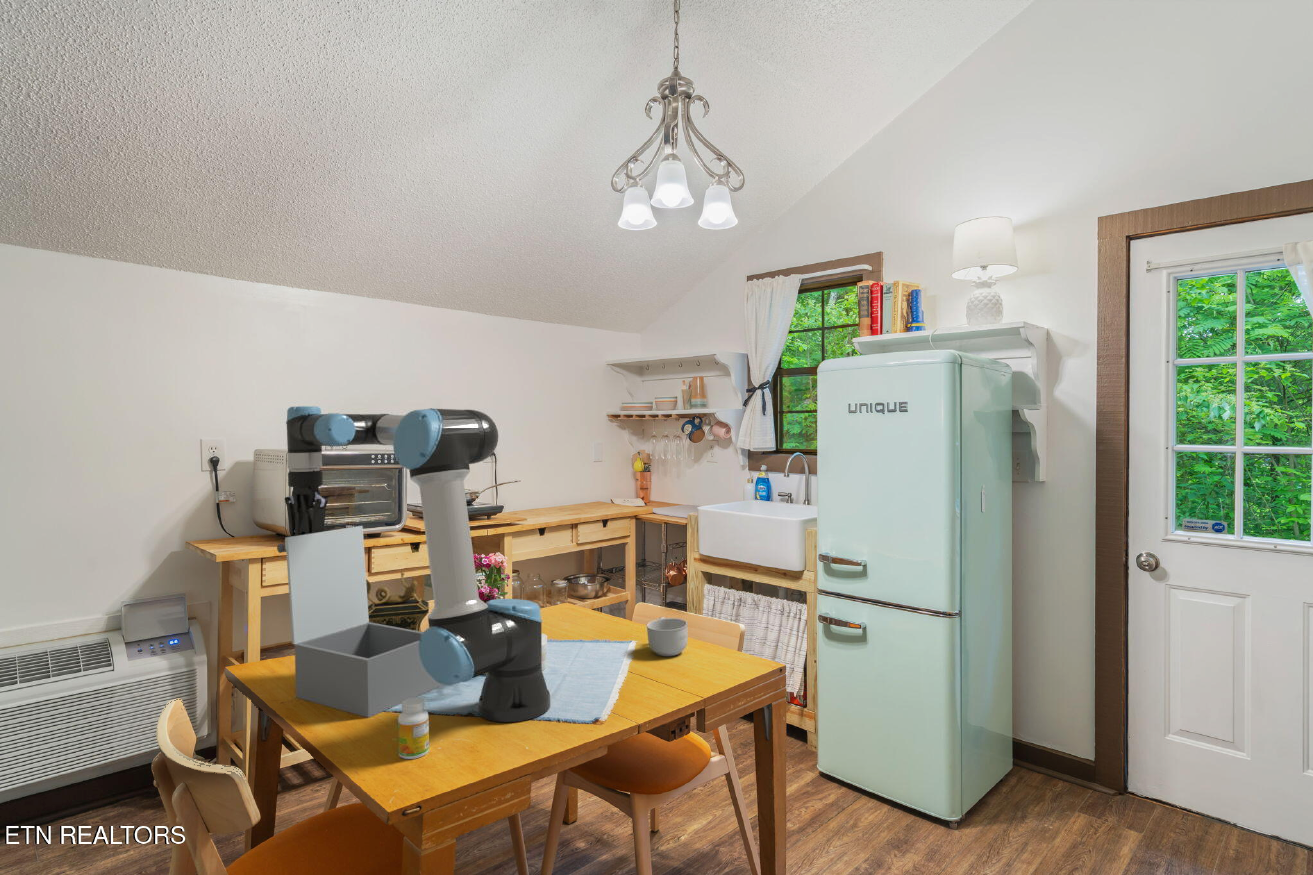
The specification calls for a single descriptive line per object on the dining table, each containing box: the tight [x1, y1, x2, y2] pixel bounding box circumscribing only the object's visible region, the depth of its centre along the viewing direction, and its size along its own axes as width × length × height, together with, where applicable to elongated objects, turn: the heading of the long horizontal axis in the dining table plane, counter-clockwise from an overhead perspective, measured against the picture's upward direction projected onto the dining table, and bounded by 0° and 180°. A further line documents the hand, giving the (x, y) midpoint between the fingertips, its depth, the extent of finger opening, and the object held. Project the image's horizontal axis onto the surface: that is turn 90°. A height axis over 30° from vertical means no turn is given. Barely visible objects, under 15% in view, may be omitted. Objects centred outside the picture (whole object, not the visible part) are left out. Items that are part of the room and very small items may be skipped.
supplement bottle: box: [397, 696, 430, 760], centre depth 132 cm, size 5×5×10 cm
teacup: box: [646, 616, 689, 657], centre depth 190 cm, size 14×11×8 cm
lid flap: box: [276, 525, 369, 645], centre depth 171 cm, size 24×20×9 cm
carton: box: [294, 622, 441, 719], centre depth 163 cm, size 24×20×12 cm
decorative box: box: [366, 570, 430, 632], centre depth 198 cm, size 20×10×20 cm, turn 107°
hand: (307, 566), depth 173 cm, fingers closed on lid flap, 2 cm apart
